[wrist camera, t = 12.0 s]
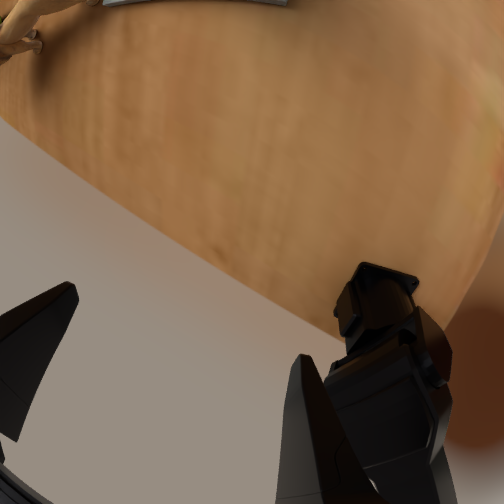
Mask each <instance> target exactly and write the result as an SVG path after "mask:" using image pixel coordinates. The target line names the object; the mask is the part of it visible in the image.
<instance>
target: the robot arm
mask: <svg viewBox="0 0 504 504" xmlns="http://www.w3.org/2000/svg"><path fill="white" fill-rule="evenodd" d="M363 267H366V268H365V269H362V268H363ZM414 281H415V282H414ZM413 282H414V283H413ZM418 284H419V280H418V278H417V277H415V276H412V275H409V274H405V273H402V272H399V271H395V270H392V269H388V268H385V267H382V266H378V265H375V264H371V263H368V262H361V263H360V264H359V265H358V267H357V269H356V271H355V273H354V275H353V277H352V278H351V280H350V281H349V282H347V284H346V286H345V287H344V289H343V291H342V293H341V295H340V296H339V298H338V300H337V302H336V304H337V305H336V307H335V309H334V311H333V313H334V316H335V317H336V318H338V321H339V331H340V335H341V337H345V343H346V352H347V356H346V357H344V358H342V359H341V360H339V361H338V360H337V361H335V362H333V363H332V364H331V368H330V371H329V374H328V376H327V377H326V378H325V380H324V383H323V382H322V379H321V377H320V375H319V373H318V370H317V368H316V366H315V364H314V362H313V359H312V357H311V356H309V355H305V354H299V355H298V357H297V359H296V360H295V362H294V363H293V365H292V367H291V371H290V376H289V382H288V388H287V393H286V398H285V404H284V413H283V427H282V440H281V452H280V463H279V474H278V484H277V493H276V501H275V504H457V498H456V494H455V489H454V485H453V481H452V477H451V473H450V469H449V465H448V462H447V458H446V455H445V451H444V447H443V442H444V439H445V435H446V431H447V427H448V423H449V419H450V414H451V409H452V404H453V400H452V396H451V393H450V390H449V388H448V385H447V382H449V380H450V374H451V365H452V353H453V352H452V349H451V347H450V344H449V342H448V340H447V338H446V336H445V334H444V332H443V330H442V329H441V328H440V326H439V325H438V324H437V323H436V322H435V321H434V320H433V319H432V318H431V317H430V316H429V315H428V314H427V313H426V312H425V311H424V310H423V309H422V308H421V307H420V306H417V307H416V306H415V303H414V301H413V298H412V296H411V295H412V293H413V292H414V290H415V289H416V287H417V286H418ZM78 302H79V296H78V293H77V290H76V287H75V285H74V284H73V283H70V282H68V281H66V282H63V283H61V284H59V285H57V286H56V287H53V288H51V289H49V290H48V291H45V292H43V293H42V294H40V295H38V296H36V297H34V298H32V299H30V300H28V301H26V302H24V303H22V304H21V305H19V306H17V307H15V308H13V309H11V310H9V311H8V312H6V313H4V314H2V315H1V316H0V433H2V434H3V435H5V436H6V437H8V438H10V439H11V440H13V441H15V442H17V441H18V439H19V436H20V432H21V430H22V427H23V424H24V421H25V419H26V416H27V413H28V411H29V408H30V406H31V403H32V401H33V398H34V396H35V393H36V391H37V389H38V386H39V384H40V382H41V380H42V378H43V376H44V373H45V371H46V369H47V367H48V365H49V363H50V361H51V359H52V357H53V355H54V353H55V351H56V349H57V347H58V345H59V343H60V342H61V340H62V338H63V336H64V334H65V332H66V330H67V328H68V325H69V323H70V321H71V318H72V316H73V314H74V312H75V310H76V307H77V305H78ZM4 460H5V457H4V453H3V450H2V446H1V442H0V504H53V503H52V502H50V501H49V500H47V499H46V498H44V497H43V496H41V495H40V494H39V493H37V492H36V491H35V490H33V489H32V488H30V487H29V486H28V485H27V484H25V483H24V482H23V481H22V480H20V479H19V478H18V477H17V476H16V475H14V474H13V473H12V472H11V471H9V470H8V469H7V468H6V467H5V466H4V465H3V463H4ZM369 479H370V480H372V481H373V483H374V485H375V487H376V489H375V488H374V486H373V485H372V483H371V481H370V480H369ZM376 490H377V491H376Z"/></svg>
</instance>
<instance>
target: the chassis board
mask: <svg viewBox="0 0 504 504" xmlns="http://www.w3.org/2000/svg"><path fill="white" fill-rule="evenodd" d="M141 1H149V0H104V1H103V4H102V5H104V6H108V7H111V6H116V5H121V4H127V3H134V2H141ZM249 1H257V2H265V3H271V4H277V5H283V6H286V4H287V1H288V0H249Z"/></svg>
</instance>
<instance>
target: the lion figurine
mask: <svg viewBox="0 0 504 504" xmlns="http://www.w3.org/2000/svg"><path fill="white" fill-rule="evenodd" d="M83 1H86V0H19V1H18V3H17V4H16V6H15V7H14V9H13V10H12V11H11V13H10V14H9V15H8V16H7V17H6V19H5V20H4V21H3V22H2V24H1V25H0V65H1V64H3V63H5V62H7V61H8V60H9V59H10V57H12V55H14V54H19V53H22V52H25V51H28V50H30V49H34V50H33V53H35V54H38V53H40V52H41V49H42V42H41V41H33V42H25V41H23V40H21V39H22V38H23V37H28V38H29V40H32V39H34V37H35V36H36V30H35V29H32V28H33V26H34V25H35V24H36V22H37V21H38V19H39V17H40V15H48V14H51V13H55V12H58V11H62V10H64V9H67V8H69V7H71V6H73V5H75V4H77V3H80V2H83ZM98 1H99V0H87V2H86V4H87V5H89V6H93V5H95V4H97V2H98Z"/></svg>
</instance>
